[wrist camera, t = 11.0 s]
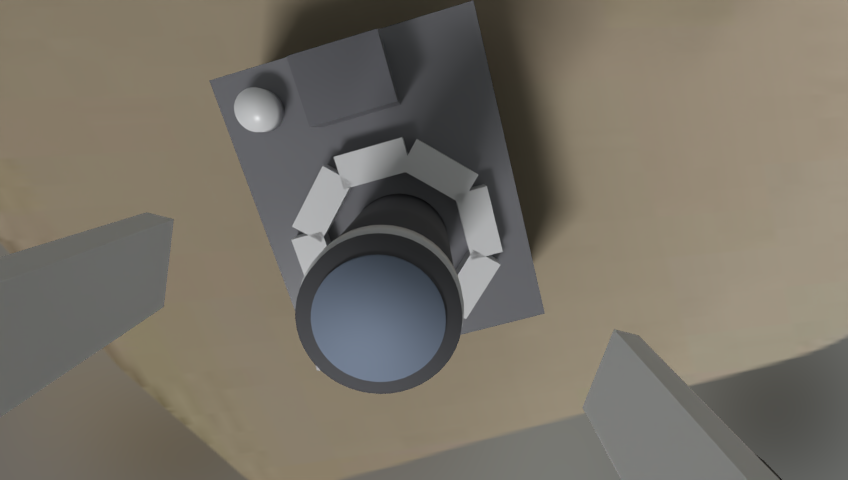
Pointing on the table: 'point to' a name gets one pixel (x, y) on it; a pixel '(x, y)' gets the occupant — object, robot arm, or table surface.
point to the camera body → (387, 152)
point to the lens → (383, 299)
